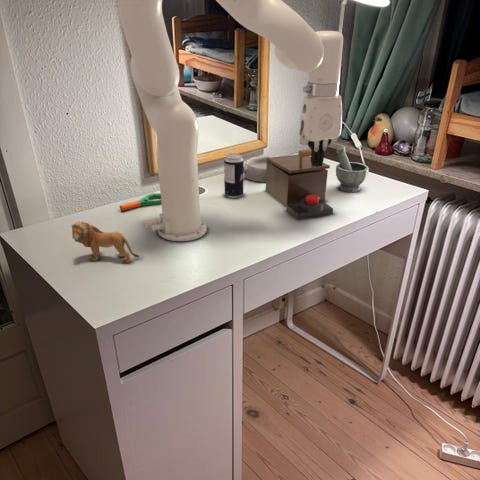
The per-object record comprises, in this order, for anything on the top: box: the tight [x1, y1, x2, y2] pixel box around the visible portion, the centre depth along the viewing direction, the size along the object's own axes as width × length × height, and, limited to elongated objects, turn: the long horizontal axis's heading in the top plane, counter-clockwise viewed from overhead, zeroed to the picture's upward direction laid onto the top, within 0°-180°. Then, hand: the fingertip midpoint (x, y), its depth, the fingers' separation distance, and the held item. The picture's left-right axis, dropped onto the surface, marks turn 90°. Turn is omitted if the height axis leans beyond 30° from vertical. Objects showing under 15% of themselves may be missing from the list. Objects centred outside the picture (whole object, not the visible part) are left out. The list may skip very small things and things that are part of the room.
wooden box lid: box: [267, 148, 331, 174], centre depth 141 cm, size 15×13×5 cm
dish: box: [244, 155, 273, 183], centre depth 161 cm, size 14×14×5 cm
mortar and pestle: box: [335, 146, 370, 193], centre depth 150 cm, size 11×9×12 cm
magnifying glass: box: [119, 192, 162, 212], centre depth 141 cm, size 15×6×2 cm, turn 133°
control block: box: [286, 198, 334, 221], centre depth 136 cm, size 11×8×4 cm
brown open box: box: [265, 161, 329, 208], centre depth 145 cm, size 15×13×9 cm
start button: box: [306, 195, 319, 205], centre depth 134 cm, size 4×4×2 cm
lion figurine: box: [70, 221, 140, 264], centre depth 112 cm, size 15×5×9 cm, turn 90°
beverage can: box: [223, 152, 245, 199], centre depth 144 cm, size 6×6×12 cm
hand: (316, 165), depth 129 cm, fingers closed
